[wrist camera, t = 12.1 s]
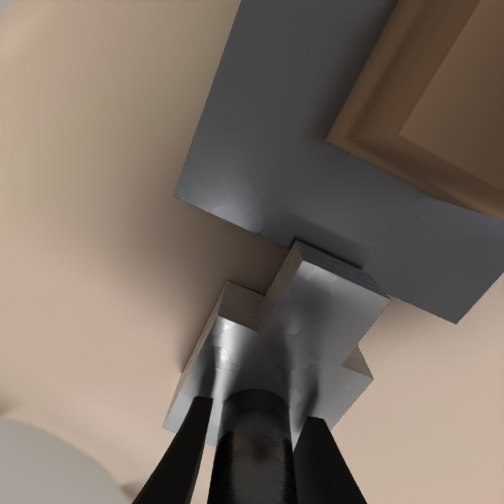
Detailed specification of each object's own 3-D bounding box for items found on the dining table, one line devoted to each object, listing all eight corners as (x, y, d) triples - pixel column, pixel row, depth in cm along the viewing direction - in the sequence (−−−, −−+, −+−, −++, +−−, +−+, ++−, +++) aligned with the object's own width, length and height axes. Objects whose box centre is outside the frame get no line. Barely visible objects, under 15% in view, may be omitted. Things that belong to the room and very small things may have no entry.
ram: (392, 278, 11) (580, 470, 4) (289, 419, 14) (310, 649, 8) (257, 215, 10) (248, 337, 4) (179, 378, 13) (101, 596, 7)
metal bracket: (734, -22, 7) (1049, -132, 4) (443, 312, 12) (505, 370, 9) (357, -306, 6) (450, -752, 3) (179, 192, 10) (145, 212, 7)
